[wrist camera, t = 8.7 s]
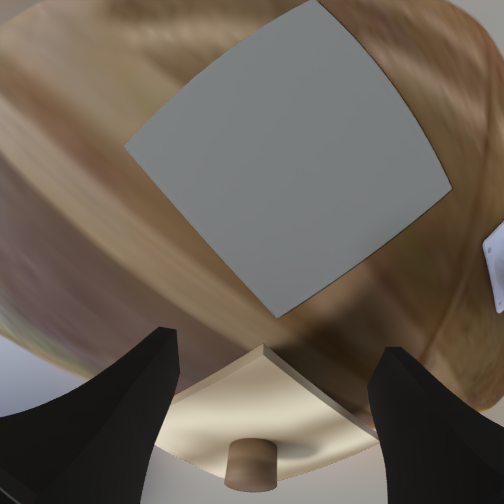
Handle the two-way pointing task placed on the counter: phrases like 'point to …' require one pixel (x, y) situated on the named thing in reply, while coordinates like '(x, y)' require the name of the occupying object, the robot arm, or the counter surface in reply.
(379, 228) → the mat
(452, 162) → the counter surface
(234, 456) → the lid
